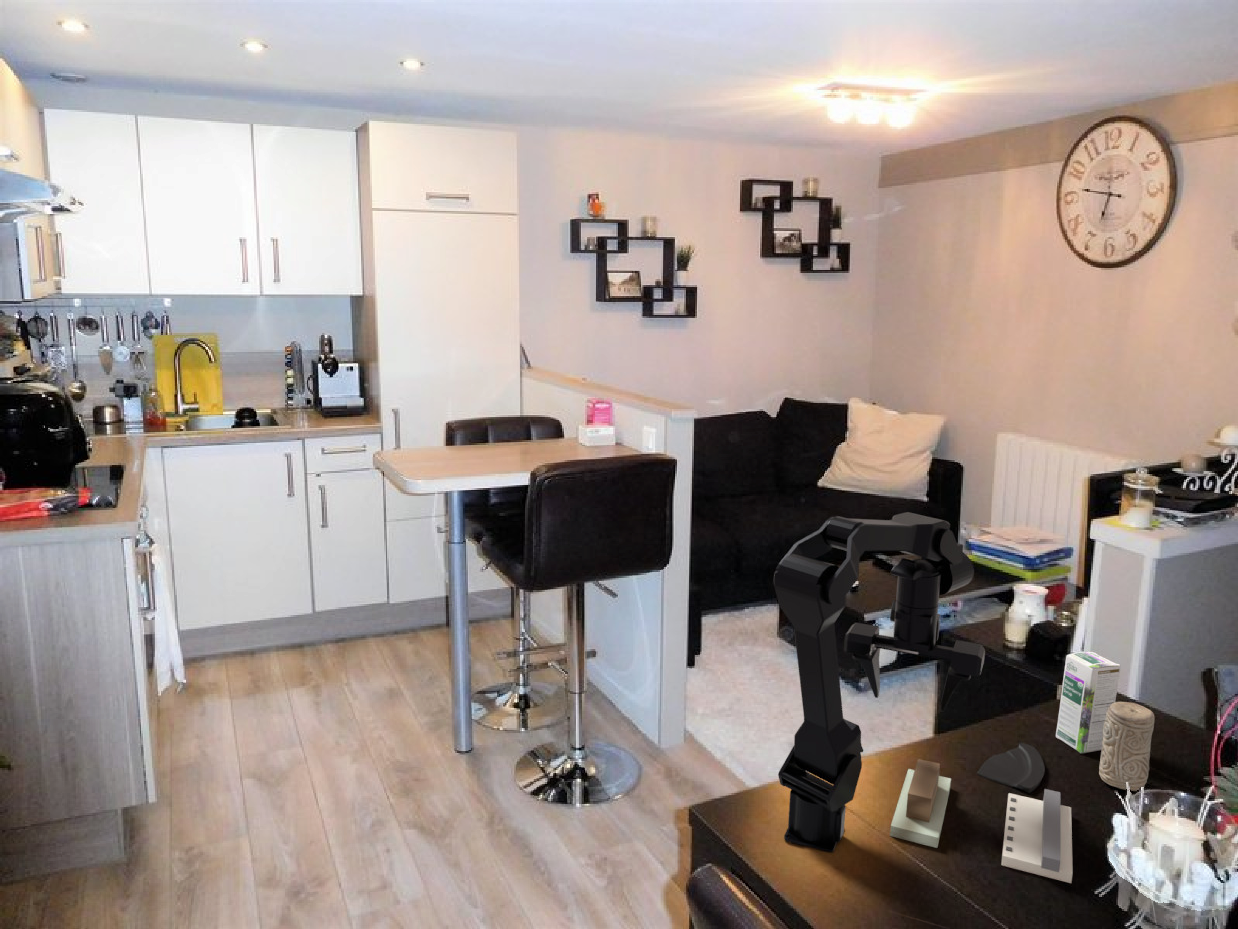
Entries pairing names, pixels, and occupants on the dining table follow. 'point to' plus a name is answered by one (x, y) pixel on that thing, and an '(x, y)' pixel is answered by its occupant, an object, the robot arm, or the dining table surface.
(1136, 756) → the carving
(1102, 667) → the syrup box
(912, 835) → the green base with block
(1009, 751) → the curved wedge
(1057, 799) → the notched base stand
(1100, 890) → the dining table surface
